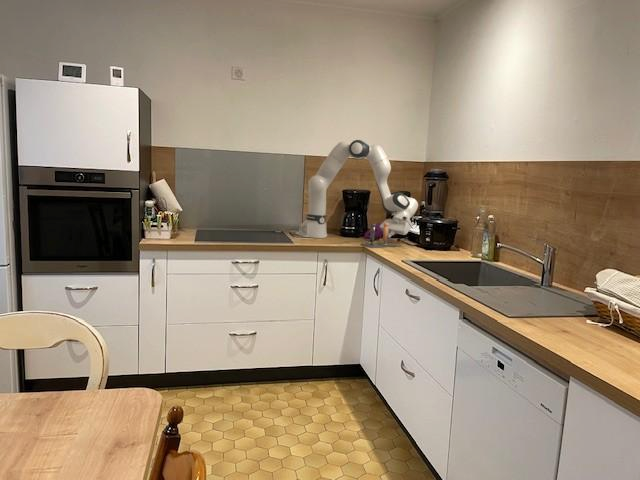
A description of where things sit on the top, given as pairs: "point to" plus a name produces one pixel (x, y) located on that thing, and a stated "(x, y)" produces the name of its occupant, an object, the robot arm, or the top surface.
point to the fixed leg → (372, 233)
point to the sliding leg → (385, 232)
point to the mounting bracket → (377, 232)
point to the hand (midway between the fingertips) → (387, 236)
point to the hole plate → (378, 244)
